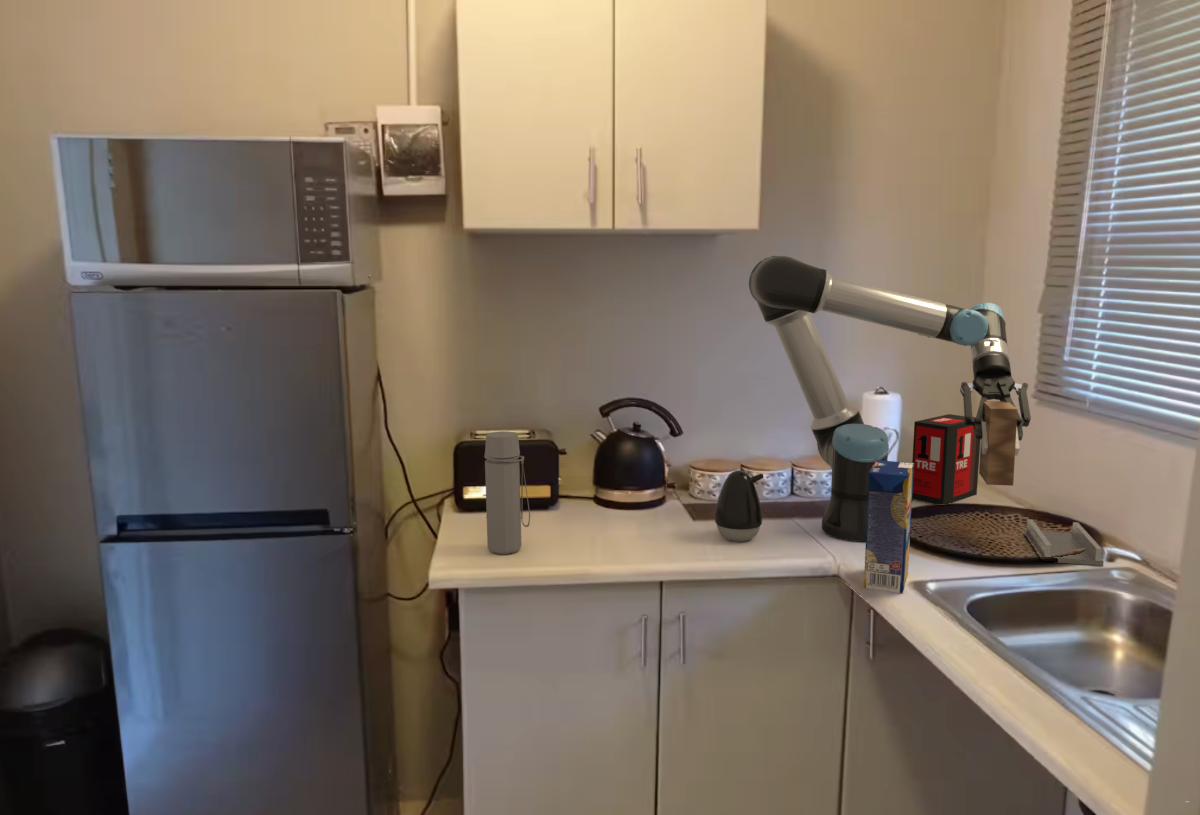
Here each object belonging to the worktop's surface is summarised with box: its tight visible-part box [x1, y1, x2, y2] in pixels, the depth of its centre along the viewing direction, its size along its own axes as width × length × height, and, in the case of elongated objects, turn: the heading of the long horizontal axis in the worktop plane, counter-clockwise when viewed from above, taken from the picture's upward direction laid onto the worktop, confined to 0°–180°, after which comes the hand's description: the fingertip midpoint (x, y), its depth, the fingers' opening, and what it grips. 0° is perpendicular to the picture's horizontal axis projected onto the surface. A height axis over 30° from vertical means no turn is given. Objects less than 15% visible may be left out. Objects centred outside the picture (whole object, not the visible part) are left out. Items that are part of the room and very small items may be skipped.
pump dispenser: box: [714, 469, 764, 543], centre depth 187 cm, size 10×10×15 cm
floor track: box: [1023, 519, 1105, 567], centre depth 178 cm, size 11×18×4 cm, turn 164°
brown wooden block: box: [978, 400, 1019, 487], centre depth 180 cm, size 5×10×16 cm, turn 165°
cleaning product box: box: [911, 413, 982, 505], centre depth 218 cm, size 16×9×20 cm, turn 129°
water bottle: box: [483, 430, 531, 555], centre depth 179 cm, size 9×8×25 cm
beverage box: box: [863, 460, 914, 594], centre depth 160 cm, size 7×11×22 cm, turn 156°
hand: (1000, 451), depth 177 cm, fingers closed on brown wooden block, 5 cm apart
